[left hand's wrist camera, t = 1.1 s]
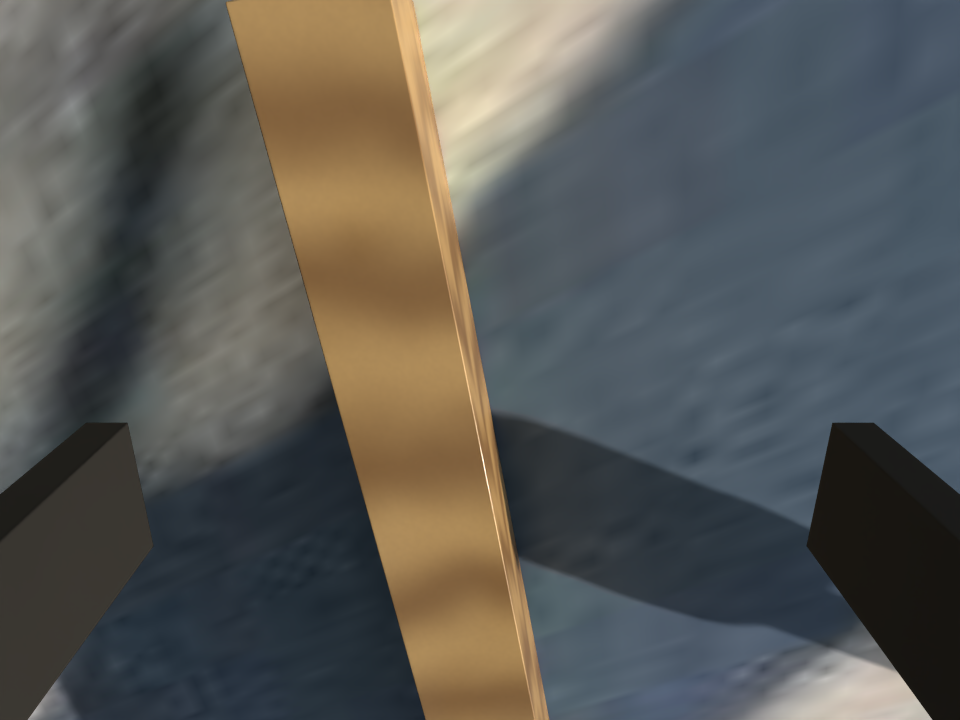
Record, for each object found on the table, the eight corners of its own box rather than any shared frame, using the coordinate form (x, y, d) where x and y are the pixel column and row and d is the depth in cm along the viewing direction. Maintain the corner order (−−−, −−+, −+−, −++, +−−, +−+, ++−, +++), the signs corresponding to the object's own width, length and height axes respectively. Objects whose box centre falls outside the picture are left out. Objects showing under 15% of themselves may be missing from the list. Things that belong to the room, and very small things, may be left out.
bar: (293, 24, 28) (224, 1, 21) (412, 0, 27) (385, -32, 20) (513, 909, 48) (517, 1049, 41) (583, 903, 48) (599, 1043, 41)
